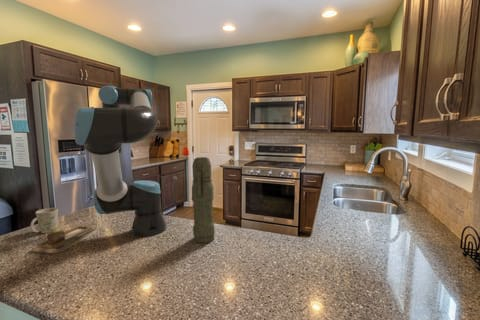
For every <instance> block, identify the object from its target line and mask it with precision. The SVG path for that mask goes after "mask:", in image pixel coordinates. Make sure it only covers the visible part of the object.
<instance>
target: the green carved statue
mask: <svg viewBox="0 0 480 320" xmlns="http://www.w3.org/2000/svg"><path fill="white" fill-rule="evenodd" d="M192 178H193V180H192V186H191V200H192V202H193V223H194V224H193V227H192V228H193V229H192V230H193V231H192V232H193V233H192V234H193V241H194V243H196V244H200V245H204V244H205V245H207V244H210V243H212V242H214V240H215V234H216V232H215V222H214V213H213V212H214V211H213V210H214V209H213V201H214V185H213V182H212V181H213V180H212V164H211V161H210V158H208V157H204V156H202V157H195V158H193V162H192Z"/></svg>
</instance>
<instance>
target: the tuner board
mask: <svg viewBox="0 0 480 320" xmlns="http://www.w3.org/2000/svg"><path fill="white" fill-rule="evenodd" d="M64 233H65V235H68V237H65V240H63V241H61V242H59V243H57V244H55V245H51V244H48V240H45V241H42V242H40V243H39V244H37V245H34V246H32V247H31V251H32V252H37V253H38V252H39V253H49V254H50V253H51V254H60V253H62V252H63V251H66V250H67V249H69V248H71V247H73V246H75V245H76V244H79V243H80V242H82V241H84V240H86V239H87V238H89V237H90V236H93V235H95V234H96V233H98V229H97V228H93V227H92V226H86V225H85V226H84V225H77V226H74V227H72V228H70V229H68V230H66V231H64Z"/></svg>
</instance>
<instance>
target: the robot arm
mask: <svg viewBox="0 0 480 320" xmlns="http://www.w3.org/2000/svg"><path fill="white" fill-rule="evenodd" d="M98 98H99V100H100V101H101V103H102V107H94V106H90V107H87V106H86V107H79V108H78V109H77V110H76V112H75V118H74V140H75V143H76V145H78V146H83V147H84V150H86V152H88V153H90V154H91V157H92V161H93V165H94V166H93V167H94V170H95V175H96V177H97V182H98V186H97V187H96V188H95V189H94V190H93V204H94V208H95V210H96V212H97V213H98V215H111V214H116V213H117V214H119V213H125V212H131V211H132V212H133V211H134V218H133V221H132V225H131V234H132V235H133V236H135V237H150V236H155V235H158V234H160V233H162V232H164V231H165V230H166V229H167V222H166V219H165V218H164V215H163V213H162V201H161V199H162V198H161V193H162V191H161V187H160V183H159V182H158V181H154V180H147V179H146V180H144V179H143V180H134V181H133V182H132V184H128V185H127V183H126V182H125V181H124V180H123V174H122V167H121V166H122V165H121V159H120V154H121V153H122V146H123V144H135V143H139V142H142V141H143V140H145V139H147V138H149V136H151V134H153V132H154V131H155V130H156V128H157V126H158V117H157V114H156V112H155V111H154V109H152V107H151V106H152V105H153V93H152V90H151V89H147V88H126V87H125V88H124V87H117V86H114V85H103V86H102V87H100V88H99V90H98ZM121 105H122V106H130V107H120V106H121Z"/></svg>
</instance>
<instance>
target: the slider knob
mask: <svg viewBox="0 0 480 320" xmlns="http://www.w3.org/2000/svg"><path fill="white" fill-rule="evenodd" d="M64 232H65V231H64V230H61V228H60V227H57V228H54V229H52V230H51V232H50V233H46V238H47V240H48V244H51V245H55V244H57V243H59V242H61V241H63V240H65V237H68V235H65V233H64Z"/></svg>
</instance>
